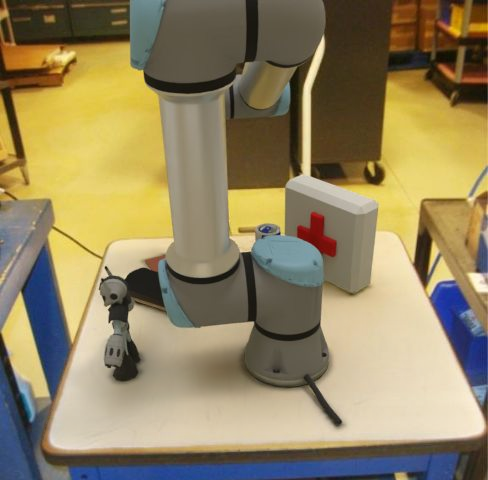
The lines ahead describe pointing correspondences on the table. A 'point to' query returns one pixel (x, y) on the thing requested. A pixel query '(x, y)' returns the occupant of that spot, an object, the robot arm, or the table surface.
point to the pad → (154, 262)
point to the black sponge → (145, 287)
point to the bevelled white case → (334, 228)
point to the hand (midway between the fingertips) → (197, 238)
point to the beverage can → (266, 230)
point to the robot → (119, 328)
